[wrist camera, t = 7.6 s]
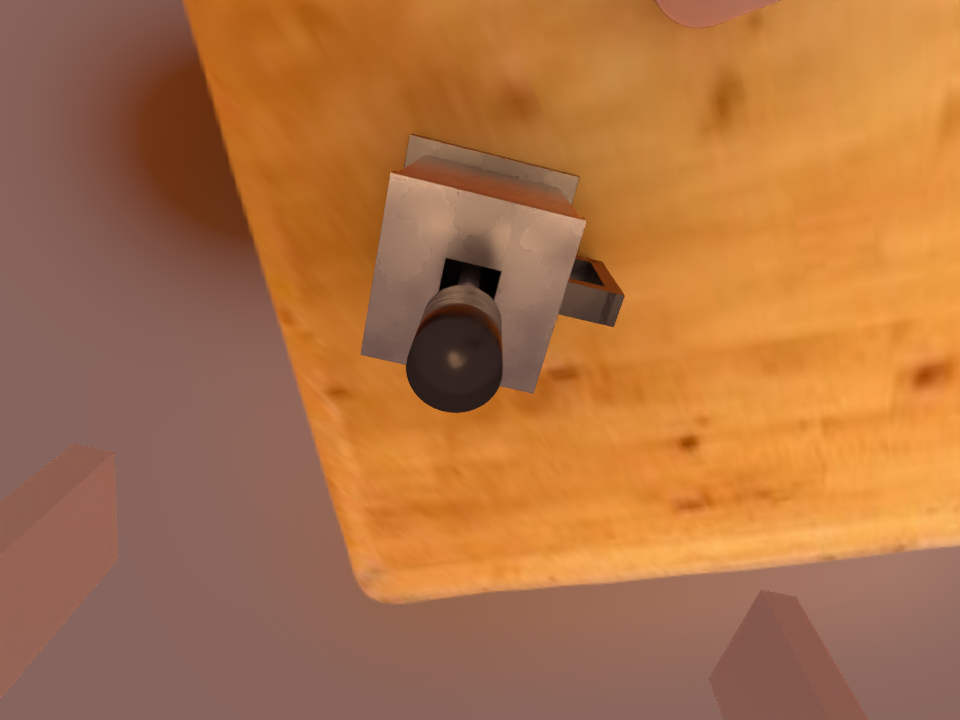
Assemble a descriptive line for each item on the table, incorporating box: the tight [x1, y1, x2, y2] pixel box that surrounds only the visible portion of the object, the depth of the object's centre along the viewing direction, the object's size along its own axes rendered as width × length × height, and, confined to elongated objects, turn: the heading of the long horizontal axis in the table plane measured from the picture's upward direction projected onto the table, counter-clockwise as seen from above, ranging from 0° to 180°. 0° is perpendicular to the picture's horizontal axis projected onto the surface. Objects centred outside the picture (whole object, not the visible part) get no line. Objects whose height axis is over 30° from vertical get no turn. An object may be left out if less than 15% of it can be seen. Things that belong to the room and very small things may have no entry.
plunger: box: [406, 258, 503, 413], centre depth 31 cm, size 8×8×22 cm
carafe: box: [361, 134, 625, 394], centre depth 37 cm, size 15×12×14 cm
